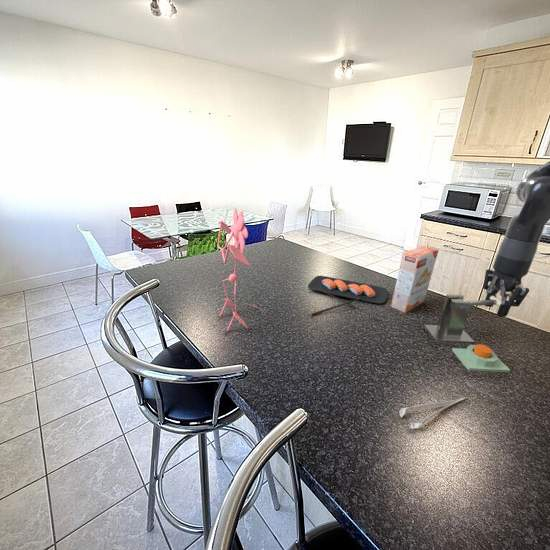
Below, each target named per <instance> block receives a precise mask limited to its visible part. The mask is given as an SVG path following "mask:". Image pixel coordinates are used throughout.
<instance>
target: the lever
mask: <svg viewBox="0 0 550 550" xmlns="http://www.w3.org/2000/svg"><path fill="white" fill-rule="evenodd" d="M454 301H464V299H463V300H462V299H451V302H450V307H451V308H452V306H453V303H454ZM465 301H466V302H471V303H472V305H471V307H478V306H485V305H493V306H495V305H496V306H498V308H499V307H500V304H501V299H499V298H498V297H497V296H496V297H495V296H491V297H490V300H485V299H482V300H465Z"/></svg>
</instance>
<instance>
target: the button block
mask: <svg viewBox="0 0 550 550" xmlns="http://www.w3.org/2000/svg"><path fill="white" fill-rule="evenodd" d="M476 345H477V344H471V345H468V346H467V347H466V348H460V347H459V348H458V347H452V349H451V351H452V352H453V354H454V355H455V356H456V357H457V358H458V360H459V361H460V362H461V363H462V365H463V366H464V367H465V368H466V369H467V371H473V372H492V373H493V372H494V373H510V372H511V369H510V368H509V367H508V366H507V365H506V364H505V363H504V362H503V361H502V360H501V359H500V358H499V357H498V355H497V354H496V352H494V351H493V350H492V353H491V356H490V358H483V357H480V356H478V355H476V354H475V353H474V349H475V346H476Z"/></svg>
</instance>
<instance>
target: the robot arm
mask: <svg viewBox="0 0 550 550" xmlns="http://www.w3.org/2000/svg"><path fill="white" fill-rule="evenodd" d="M515 196H516V198H517V200H519V201H520V202H522V203H524V204H523V206H522V207H521V209H520V211H519V214H515V215H513V216H512V217H511V219H510V220H509V223H508V226H507V228H506V231H505V234H504V237H503V239H502V241H501V243H500V245H499V248H498V250H497V254H496V257H495V259H494V262H493V265H492V268H493V269H486V270H485V273H484V280H483V286H482V288H483V290H485V291H486V292H485V293H486V296H485V299H484V300H490V297H491V296H495V297H496V298H497V294H499V296H500V297H501V299H500V301H501V304H500V307H499V306H498V309H497V311H496V315H497V317H499V318H506V317H507V316H508V314H509V312H510V309H511V308H512V307H515V308H518V307H519V306H520V305H521V304H522V303H523V301H524V300H525V298H526V297H527V295H528V294H529V293H530V288H528V287H524V286H523V285H522V279H523V278H524V277H526V276H527V275H528V273H529V271H530V268H531V266H532V264H533V261H534V259H535V256H536V253H537V252H538V251H537V250H538V246H539V243H540V240H541V238H542V235H543V232H544V230H545V227H546V225H547V223H548V222H549V221H550V160H549V161H547V162H546V163H544V164H542V165H541V166H540V167H538V168H537V169H535V170H534V171H532V172H530V173H529V174H528V175H526V176H525V177H524V178H523V179H522V180H520V182H519V184H518V185H517V186H516V190H515ZM489 282H490V283H489ZM507 298H508V300H507ZM484 306H485V307H488V308H492V307H493V306H494V305H484Z"/></svg>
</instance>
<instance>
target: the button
mask: <svg viewBox="0 0 550 550" xmlns="http://www.w3.org/2000/svg"><path fill="white" fill-rule="evenodd" d="M475 345H476V346H475V349H474V353H475V354H476V355H478V356H480V357H483V358H490V356H491V353H492V351H493V350H492V348H491V347H489V346H487V345H485V344H481V343H480V344H479V343H478V344H475Z"/></svg>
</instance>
